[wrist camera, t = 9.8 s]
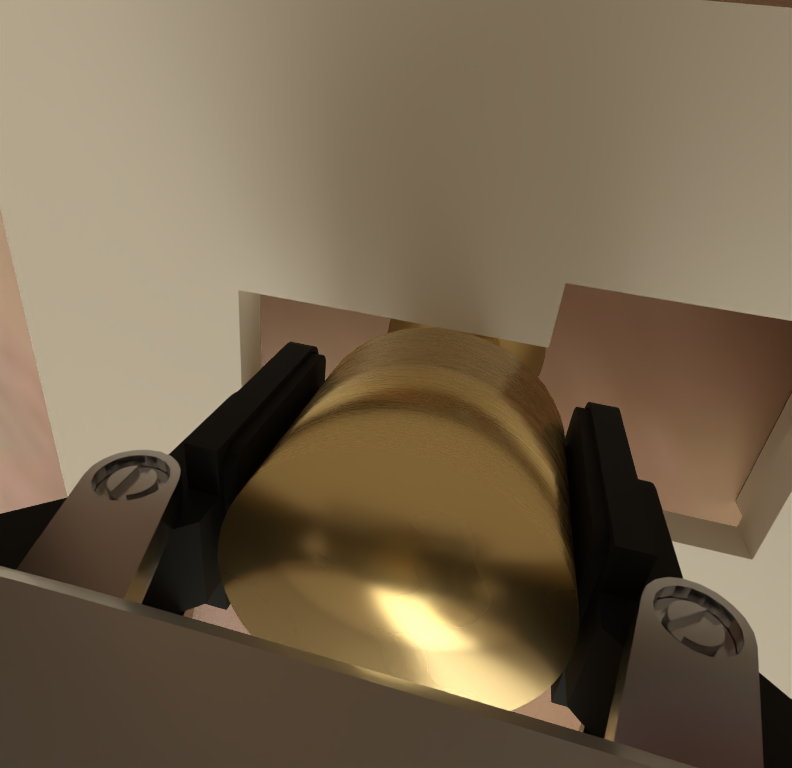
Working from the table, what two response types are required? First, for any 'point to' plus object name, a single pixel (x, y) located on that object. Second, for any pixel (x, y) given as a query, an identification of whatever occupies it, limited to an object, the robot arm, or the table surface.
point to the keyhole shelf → (391, 199)
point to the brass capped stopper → (417, 520)
